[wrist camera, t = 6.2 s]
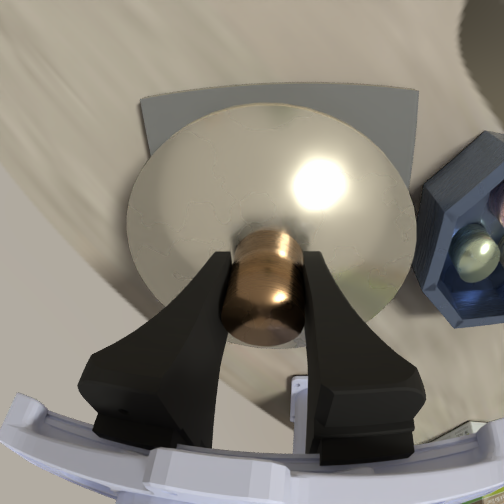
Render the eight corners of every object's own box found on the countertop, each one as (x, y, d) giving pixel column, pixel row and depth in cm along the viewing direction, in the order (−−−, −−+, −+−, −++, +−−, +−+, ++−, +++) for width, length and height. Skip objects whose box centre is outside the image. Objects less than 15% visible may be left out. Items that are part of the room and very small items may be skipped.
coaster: (383, 294, 20) (385, 300, 20) (189, 293, 22) (186, 299, 21) (414, 88, 12) (418, 91, 12) (145, 96, 14) (140, 99, 14)
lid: (384, 330, 17) (396, 398, 14) (172, 329, 19) (151, 393, 15) (425, 104, 10) (487, 143, 6) (106, 121, 11) (38, 166, 8)
